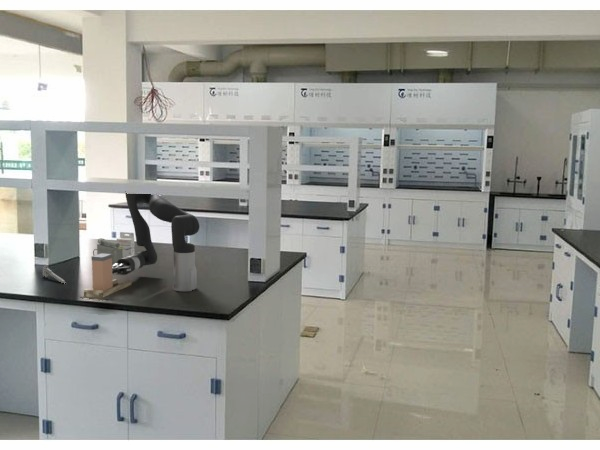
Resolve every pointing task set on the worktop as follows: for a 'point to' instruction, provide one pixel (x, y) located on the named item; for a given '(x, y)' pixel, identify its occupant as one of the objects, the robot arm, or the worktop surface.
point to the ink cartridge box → (126, 243)
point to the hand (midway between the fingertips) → (107, 272)
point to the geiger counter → (109, 249)
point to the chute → (102, 293)
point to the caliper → (51, 274)
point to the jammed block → (102, 271)
